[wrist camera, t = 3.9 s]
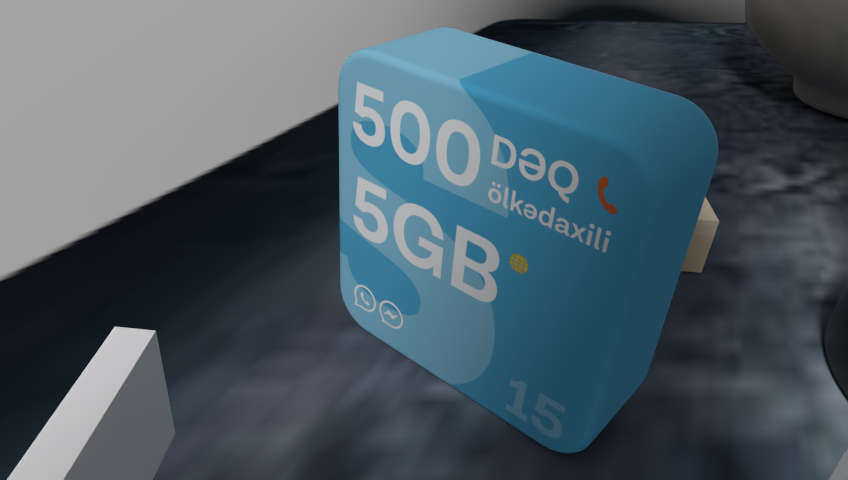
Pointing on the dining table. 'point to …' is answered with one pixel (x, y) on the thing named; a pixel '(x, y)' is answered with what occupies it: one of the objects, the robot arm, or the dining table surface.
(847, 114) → the flower arrangement
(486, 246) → the data package
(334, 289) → the dining table surface
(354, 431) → the dining table surface
